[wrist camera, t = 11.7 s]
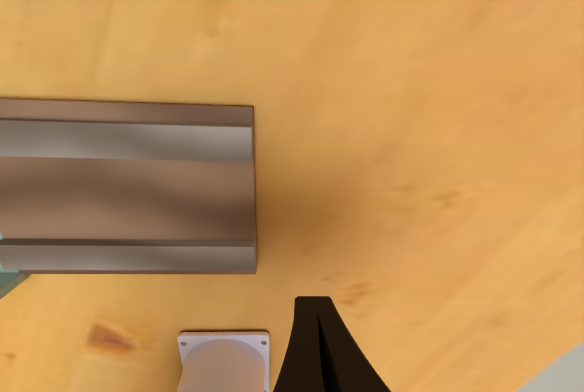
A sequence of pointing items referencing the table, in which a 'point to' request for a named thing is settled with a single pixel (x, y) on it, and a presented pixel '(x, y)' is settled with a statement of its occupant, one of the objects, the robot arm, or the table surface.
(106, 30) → the table surface
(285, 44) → the table surface
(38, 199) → the slot board
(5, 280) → the tray
